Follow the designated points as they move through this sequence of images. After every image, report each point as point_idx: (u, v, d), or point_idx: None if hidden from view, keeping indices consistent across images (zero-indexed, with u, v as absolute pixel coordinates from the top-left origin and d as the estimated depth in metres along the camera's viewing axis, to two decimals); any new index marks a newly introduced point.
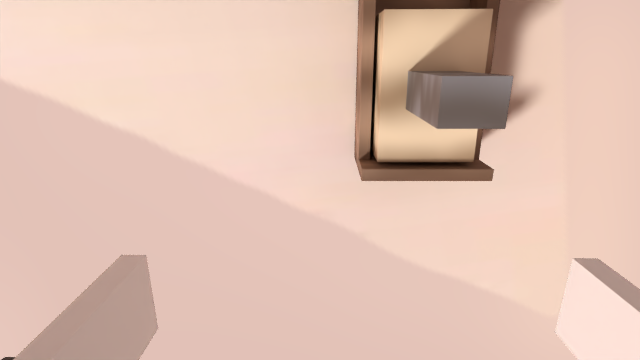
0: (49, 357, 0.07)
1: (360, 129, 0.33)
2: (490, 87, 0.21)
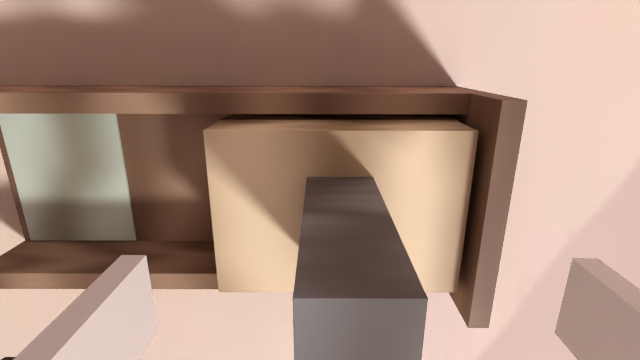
0: (49, 357, 0.07)
1: None
2: (320, 341, 0.09)
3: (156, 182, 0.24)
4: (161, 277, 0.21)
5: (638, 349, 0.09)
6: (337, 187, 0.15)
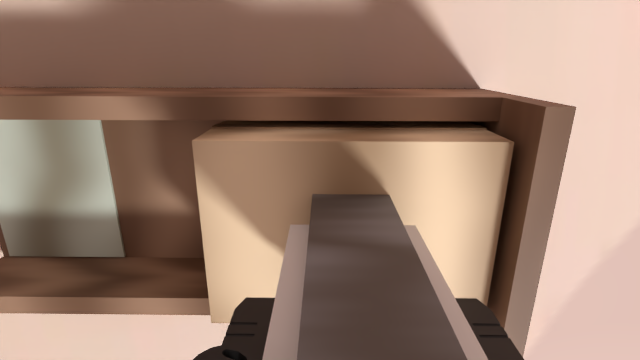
0: None
1: None
2: None
3: (145, 194, 0.21)
4: (149, 301, 0.19)
5: None
6: (348, 209, 0.13)
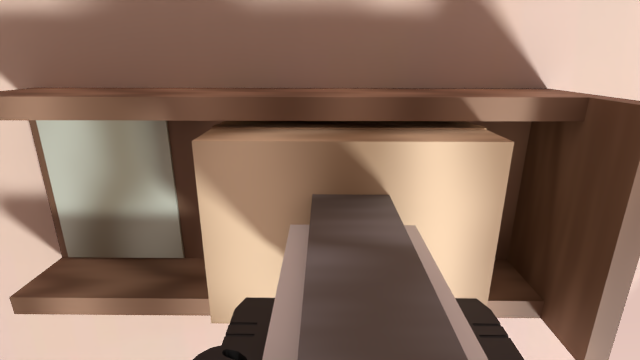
0: None
1: None
2: None
3: None
4: None
5: None
6: (348, 210, 0.13)
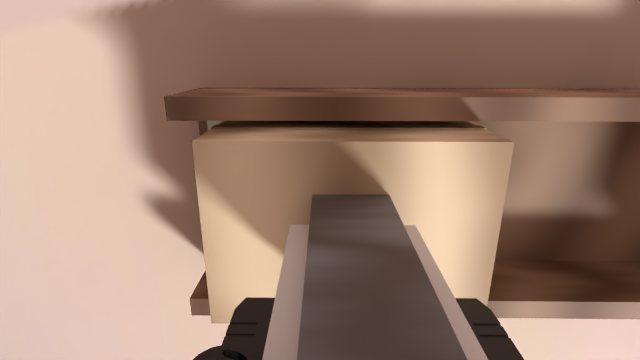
0: None
1: None
2: None
3: None
4: None
5: None
6: (348, 210, 0.13)
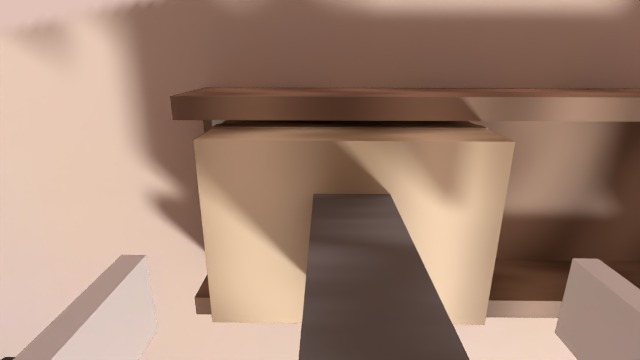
0: (49, 357, 0.07)
1: None
2: None
3: None
4: None
5: (638, 349, 0.09)
6: (349, 209, 0.13)
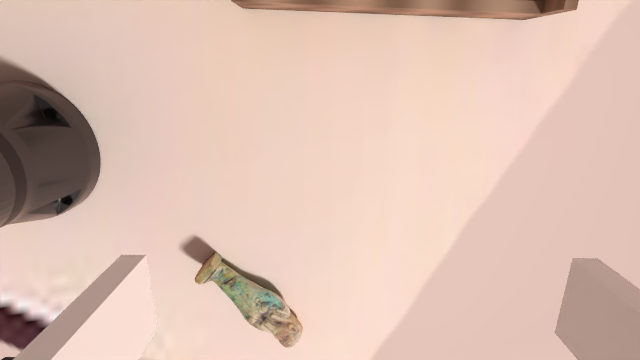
0: (49, 357, 0.07)
1: (509, 11, 0.32)
2: None
3: None
4: None
5: (638, 349, 0.09)
6: None
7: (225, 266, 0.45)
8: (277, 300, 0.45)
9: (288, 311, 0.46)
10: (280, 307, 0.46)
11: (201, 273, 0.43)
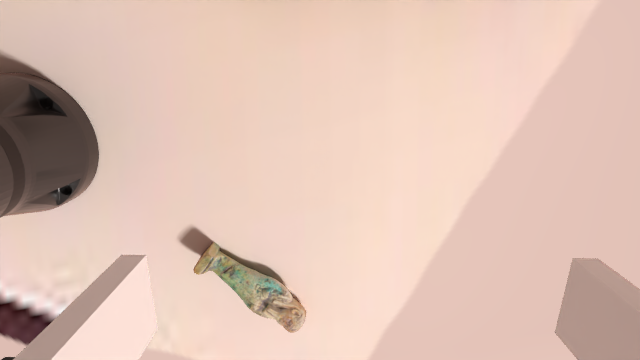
0: (49, 357, 0.07)
1: None
2: None
3: None
4: None
5: (638, 349, 0.09)
6: None
7: (223, 255, 0.45)
8: (278, 286, 0.45)
9: (289, 296, 0.46)
10: (281, 292, 0.45)
11: (199, 263, 0.43)
